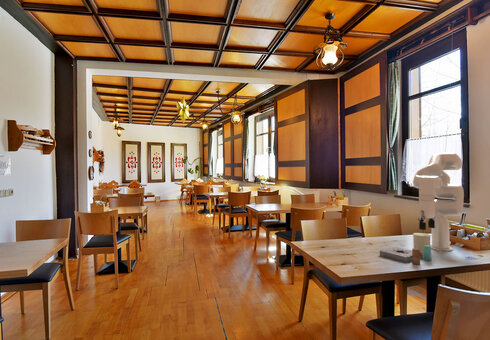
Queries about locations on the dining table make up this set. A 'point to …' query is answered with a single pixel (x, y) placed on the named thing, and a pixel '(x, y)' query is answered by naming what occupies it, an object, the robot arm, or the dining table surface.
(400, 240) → the dining table surface
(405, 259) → the socket plate
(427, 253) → the teal peg
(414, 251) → the walnut peg
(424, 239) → the can
